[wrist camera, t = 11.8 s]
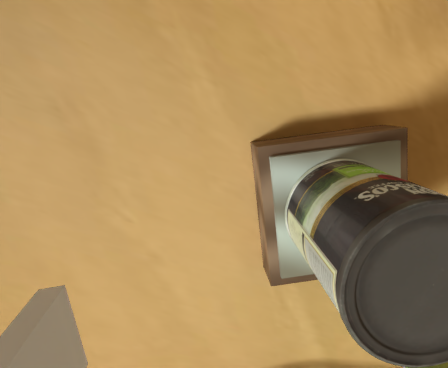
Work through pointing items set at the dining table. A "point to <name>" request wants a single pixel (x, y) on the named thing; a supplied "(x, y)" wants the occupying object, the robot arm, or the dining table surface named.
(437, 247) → the coffee can
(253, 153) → the tray
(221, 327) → the dining table surface
